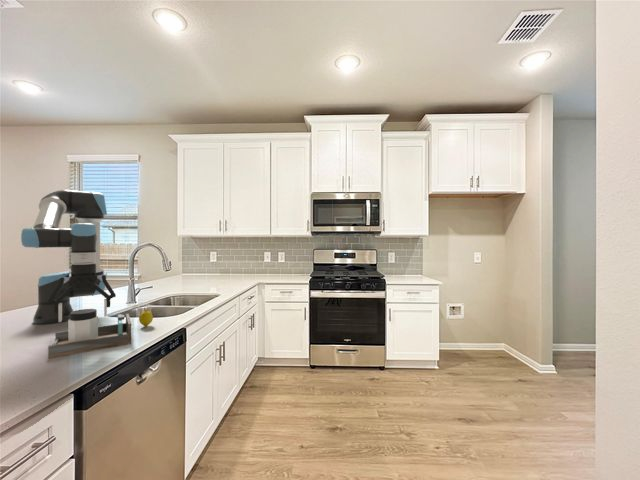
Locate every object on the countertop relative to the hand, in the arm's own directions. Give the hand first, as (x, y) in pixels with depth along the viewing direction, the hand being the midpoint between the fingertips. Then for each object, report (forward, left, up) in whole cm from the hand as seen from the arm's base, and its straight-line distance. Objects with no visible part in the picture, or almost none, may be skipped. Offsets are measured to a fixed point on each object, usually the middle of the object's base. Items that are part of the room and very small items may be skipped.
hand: (83, 318), depth 113 cm
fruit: (-13, +22, -11) cm, 28 cm away
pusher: (0, +12, -9) cm, 15 cm away
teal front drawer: (0, +3, -10) cm, 11 cm away
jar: (0, 0, -9) cm, 9 cm away
